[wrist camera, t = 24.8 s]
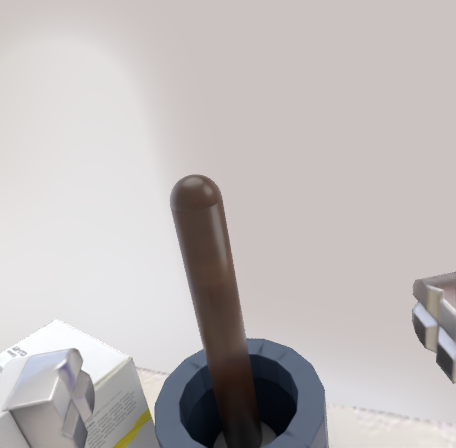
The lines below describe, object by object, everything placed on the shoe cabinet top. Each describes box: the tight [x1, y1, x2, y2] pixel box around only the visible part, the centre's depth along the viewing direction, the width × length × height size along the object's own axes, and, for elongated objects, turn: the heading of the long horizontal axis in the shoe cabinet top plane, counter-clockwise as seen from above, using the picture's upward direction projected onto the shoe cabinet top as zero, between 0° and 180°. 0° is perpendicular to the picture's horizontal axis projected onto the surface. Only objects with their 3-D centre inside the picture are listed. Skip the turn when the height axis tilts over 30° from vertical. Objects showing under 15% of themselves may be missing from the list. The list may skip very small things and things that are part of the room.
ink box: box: [0, 319, 160, 448], centre depth 27 cm, size 9×5×12 cm, turn 54°
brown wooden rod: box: [170, 175, 277, 448], centre depth 21 cm, size 4×4×22 cm
